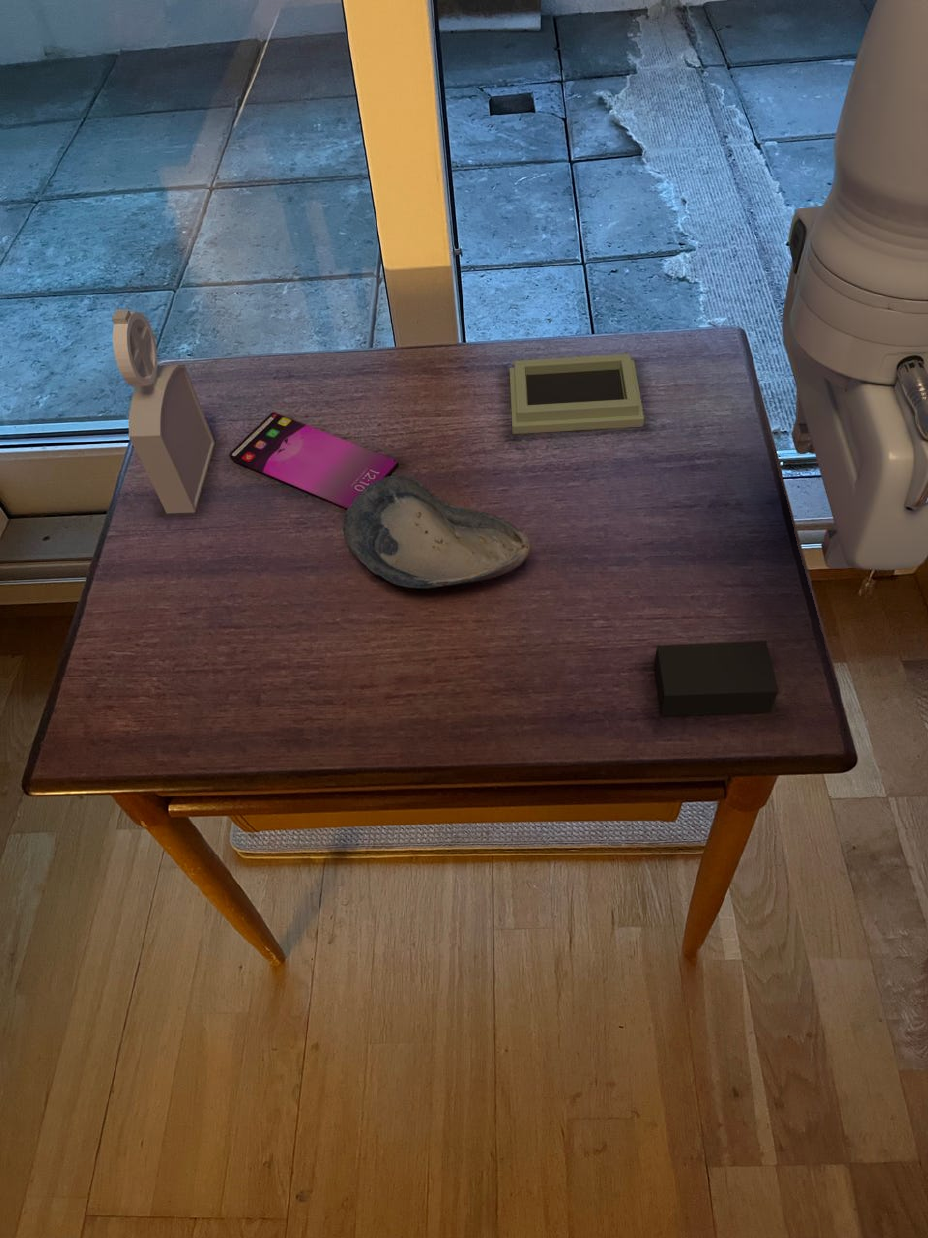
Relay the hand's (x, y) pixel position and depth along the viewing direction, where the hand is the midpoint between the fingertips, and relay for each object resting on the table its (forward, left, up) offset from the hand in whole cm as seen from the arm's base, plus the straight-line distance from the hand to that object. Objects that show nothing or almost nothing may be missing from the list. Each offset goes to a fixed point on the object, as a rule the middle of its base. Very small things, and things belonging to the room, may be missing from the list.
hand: (821, 499), depth 56 cm
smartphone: (+44, +7, -18) cm, 48 cm away
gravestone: (+53, +15, -18) cm, 58 cm away
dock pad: (+30, -15, -18) cm, 39 cm away
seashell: (+27, +8, -18) cm, 34 cm away
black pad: (+2, +5, -18) cm, 19 cm away
